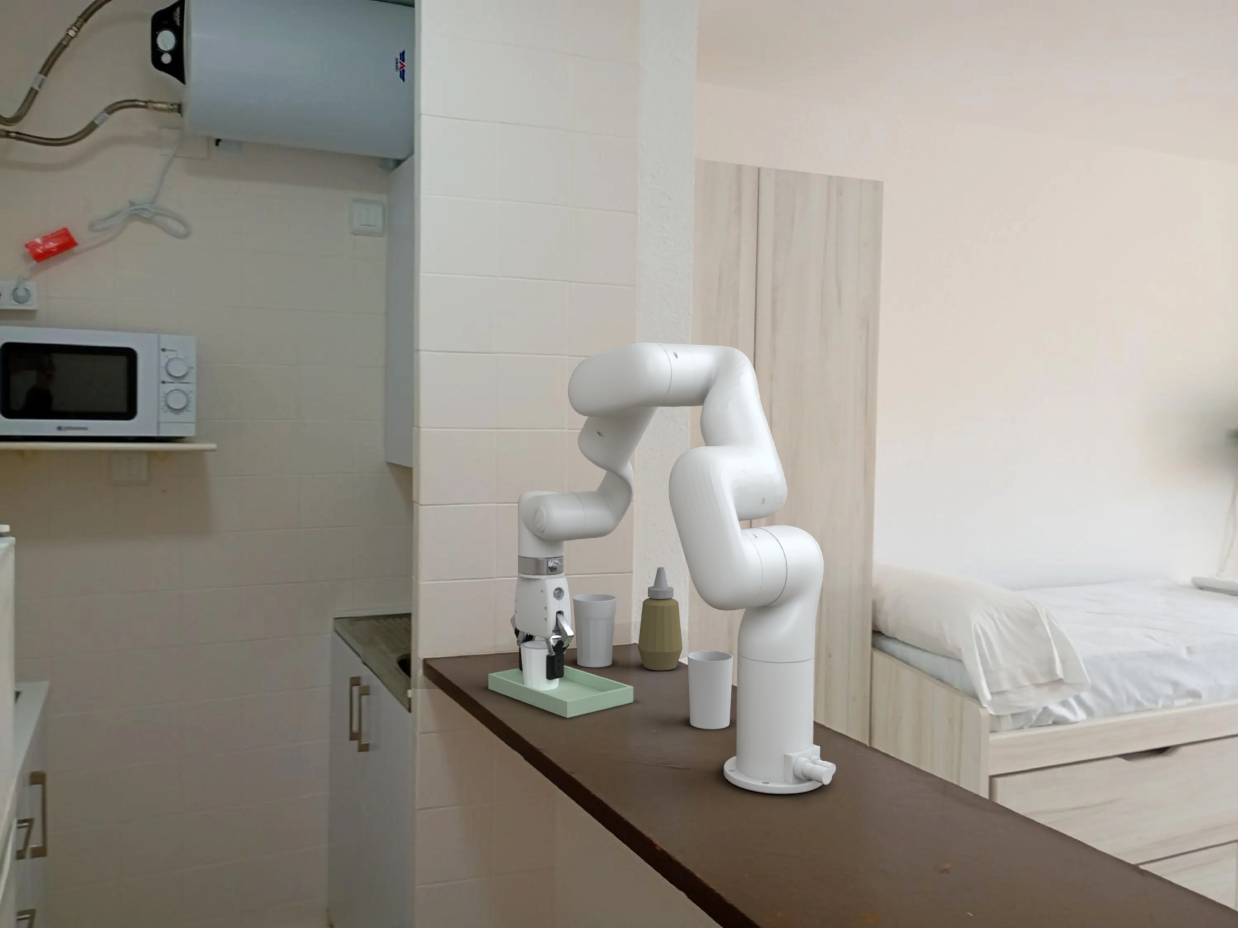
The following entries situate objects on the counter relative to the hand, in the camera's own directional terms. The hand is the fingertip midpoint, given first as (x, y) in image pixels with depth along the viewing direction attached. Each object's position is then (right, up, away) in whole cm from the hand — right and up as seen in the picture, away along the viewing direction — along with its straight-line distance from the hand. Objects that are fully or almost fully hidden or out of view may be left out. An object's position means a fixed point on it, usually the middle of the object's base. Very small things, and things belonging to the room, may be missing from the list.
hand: (541, 672), depth 170 cm
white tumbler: (+26, -4, -18) cm, 32 cm away
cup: (+8, -2, +18) cm, 20 cm away
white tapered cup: (0, -2, 0) cm, 2 cm away
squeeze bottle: (+20, -2, +15) cm, 25 cm away
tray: (+3, -3, -4) cm, 6 cm away
